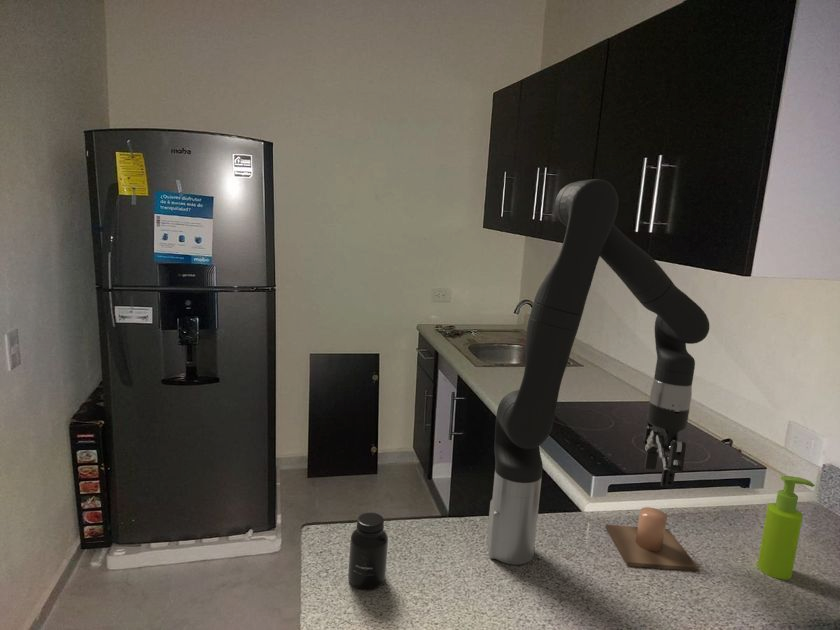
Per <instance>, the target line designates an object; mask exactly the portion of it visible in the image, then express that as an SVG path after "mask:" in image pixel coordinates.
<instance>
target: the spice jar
mask: <svg viewBox="0 0 840 630" xmlns="http://www.w3.org/2000/svg"><path fill="white" fill-rule="evenodd" d="M667 520H668V516H667V514H666V513H665V512H664V511H662V510H659V509H657V508H654V507H650V506H649V507H648V506H645V507H641V508H640V511H639V517H638V521H637V522H638V523H637V527H638V529H637V535H636V543H637V544H638V545H639V546H640V547H642V548H644V549H646V550H649V551H660V550H661V549H662V545H663V539H664V532H665V529H666V524H667Z"/></svg>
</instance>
